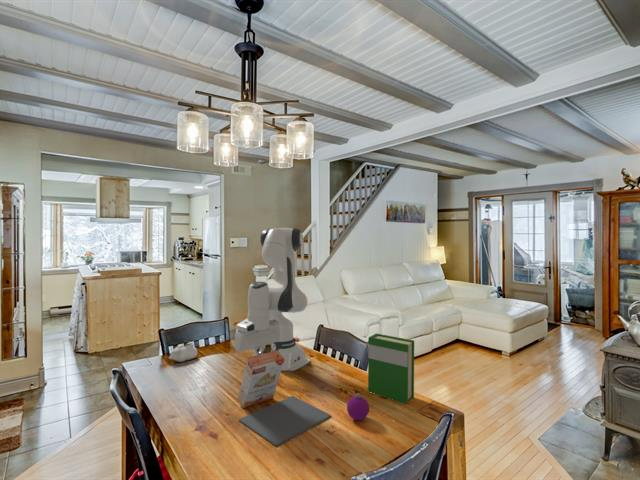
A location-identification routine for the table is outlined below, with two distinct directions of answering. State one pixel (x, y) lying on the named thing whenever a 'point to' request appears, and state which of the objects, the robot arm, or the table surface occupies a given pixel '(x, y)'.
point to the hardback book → (391, 367)
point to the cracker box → (260, 378)
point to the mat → (284, 420)
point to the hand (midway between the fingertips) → (258, 356)
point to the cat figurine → (183, 352)
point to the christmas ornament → (358, 407)
